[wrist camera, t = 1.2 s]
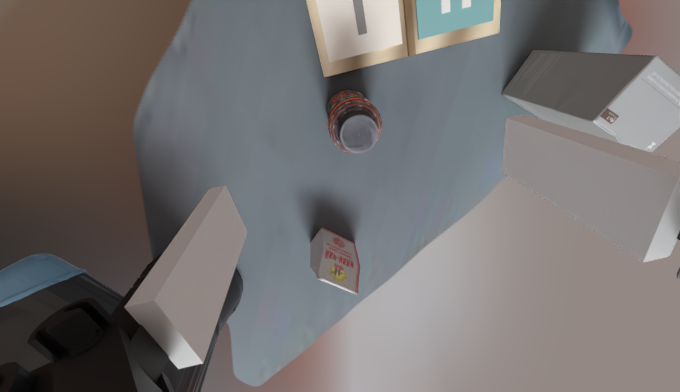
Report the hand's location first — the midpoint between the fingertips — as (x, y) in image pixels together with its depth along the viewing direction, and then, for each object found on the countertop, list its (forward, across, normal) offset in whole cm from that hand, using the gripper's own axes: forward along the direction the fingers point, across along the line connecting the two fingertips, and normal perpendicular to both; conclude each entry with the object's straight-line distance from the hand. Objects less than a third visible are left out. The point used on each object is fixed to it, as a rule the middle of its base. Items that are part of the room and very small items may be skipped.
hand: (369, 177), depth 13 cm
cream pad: (+25, +5, +8) cm, 27 cm away
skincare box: (+27, +28, -5) cm, 39 cm away
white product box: (+27, -5, -24) cm, 36 cm away
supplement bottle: (+27, +2, -3) cm, 27 cm away
